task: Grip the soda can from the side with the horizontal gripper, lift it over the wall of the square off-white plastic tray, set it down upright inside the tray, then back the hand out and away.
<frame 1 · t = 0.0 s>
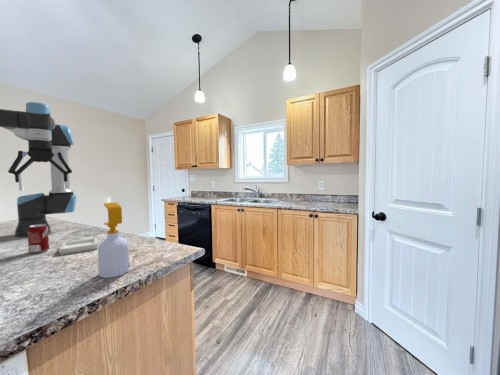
hand: (43, 189, 98), 28 cm above the counter, tool pointing down, fingers open, 13 cm apart
soda can: (39, 251, 102), on the counter
square tray: (80, 248, 106), on the counter
soap bottle: (114, 273, 79), on the counter
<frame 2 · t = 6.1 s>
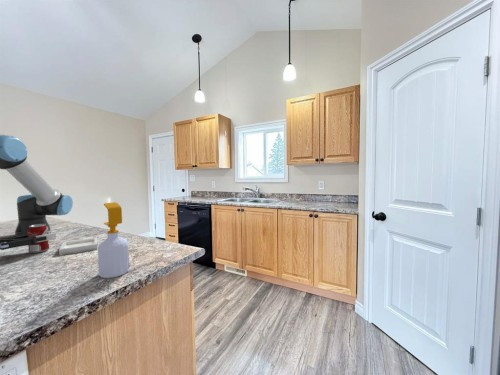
hand: (53, 234, 105), 7 cm above the counter, tool horizontal, fingers closed on soda can, 6 cm apart
soda can: (39, 251, 102), on the counter, touching gripper
everything else where it was.
when the fingers open (8 cm above the counter, at t = 10.6 s): soda can stays where it is, point 1 cm above the counter.
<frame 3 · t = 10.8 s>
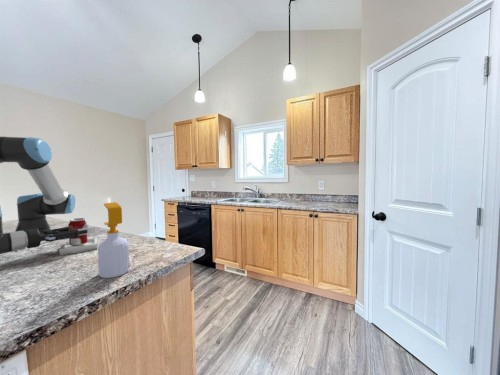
hand: (91, 228, 109), 8 cm above the counter, tool horizontal, fingers open, 8 cm apart
soda can: (78, 244, 106), point 1 cm above the counter, touching gripper
everything else where it was.
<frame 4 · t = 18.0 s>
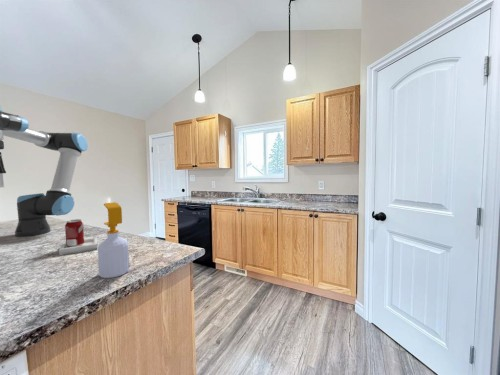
soda can: (75, 246, 106), point 1 cm above the counter, touching square tray
everything else where it was.
at the end: soda can 2.7 cm off-centre on the square tray, point 0.8 cm above the square tray's base; soda can tilted 0°; the gripper is holding nothing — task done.
